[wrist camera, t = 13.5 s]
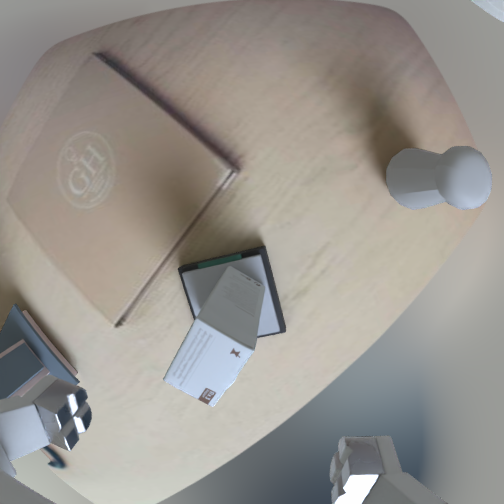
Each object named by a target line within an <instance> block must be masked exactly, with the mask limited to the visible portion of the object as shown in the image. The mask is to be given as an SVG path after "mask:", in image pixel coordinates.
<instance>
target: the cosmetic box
mask: <svg viewBox="0 0 504 504" xmlns="http://www.w3.org/2000/svg"><path fill="white" fill-rule="evenodd" d="M264 293H265V286H264V285H262V284H261V283H259V282H257V281H255V280H254V279H252V278H250V277H249V276H247V275H245V274H244V273H242V272H240V271H239V270H237V269H235V268H233V267H232V266H228V267H227V268H226V270H225V271H224V273H223V274H222V276H221V277H220V279H219V280H218V282H217V284H216V285H215V287H214V288H213V290H212V292H211V293H210V295H209V297H208V298H207V300H206V302H205V303H204V305H203V307H202V309H201V310H200V312H199V314H198V316H197V317H196V318H195V320H194V322H193V324H192V326H191V328H190V330H189V331H188V333H187V335H186V337H185V339H184V341H183V342H182V344H181V346H180V348H179V350H178V352H177V354H176V355H175V357H174V359H173V361H172V363H171V365H170V367H169V369H168V371H167V373H166V375H165V376H164V378H163V380H164V381H166V382H167V383H169V384H171V385H172V386H174V387H176V388H178V389H179V390H181V391H183V392H185V393H187V394H189V395H191V396H192V397H194V398H196V399H198V400H200V401H202V402H204V403H206V404H208V405H210V406H214V405H215V404H216V403H217V401H218V400H219V399H220V397H221V396H222V395H223V393H224V392H225V391H226V389H227V388H229V387H230V386H231V385H232V383H233V382H234V381H235V379H236V377H237V375H238V373H239V372H240V370H241V369H242V368H243V366H244V365H245V363H246V362H247V361H248V359H249V358H250V356H251V355H252V353H253V352H254V350H255V346H256V341H257V335H258V329H259V322H260V316H261V311H262V305H263V299H264Z"/></svg>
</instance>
